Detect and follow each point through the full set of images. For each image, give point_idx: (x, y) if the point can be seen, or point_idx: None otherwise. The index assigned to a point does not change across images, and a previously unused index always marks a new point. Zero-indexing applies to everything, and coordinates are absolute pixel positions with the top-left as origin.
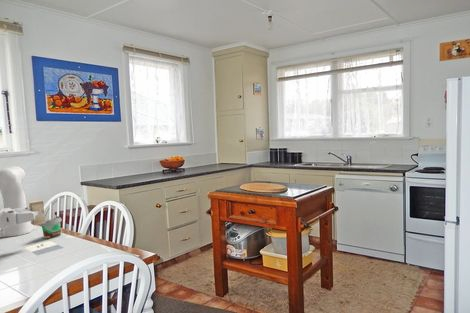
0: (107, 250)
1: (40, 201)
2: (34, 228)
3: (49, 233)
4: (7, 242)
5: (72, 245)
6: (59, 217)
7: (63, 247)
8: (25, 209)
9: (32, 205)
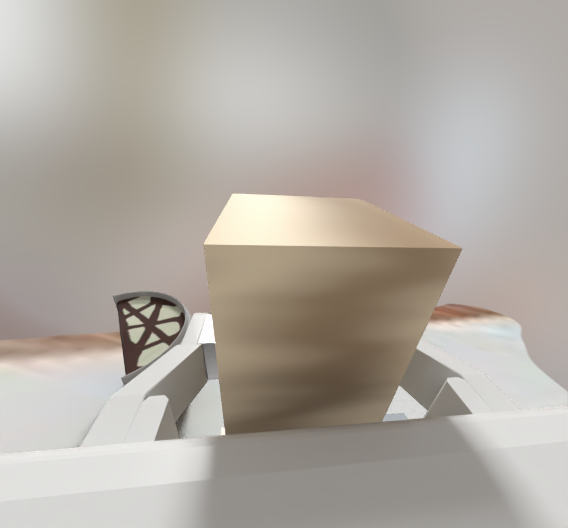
0: (493, 333)
1: (348, 203)
2: None
3: None
4: None
5: None
6: (149, 295)
7: (397, 414)
8: (262, 470)
9: (439, 292)
